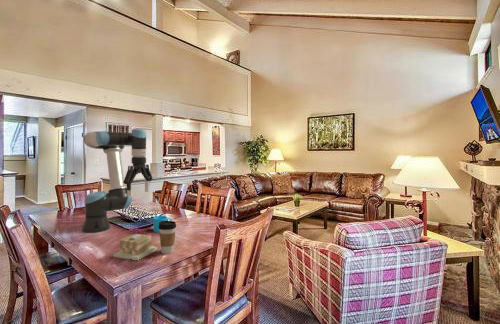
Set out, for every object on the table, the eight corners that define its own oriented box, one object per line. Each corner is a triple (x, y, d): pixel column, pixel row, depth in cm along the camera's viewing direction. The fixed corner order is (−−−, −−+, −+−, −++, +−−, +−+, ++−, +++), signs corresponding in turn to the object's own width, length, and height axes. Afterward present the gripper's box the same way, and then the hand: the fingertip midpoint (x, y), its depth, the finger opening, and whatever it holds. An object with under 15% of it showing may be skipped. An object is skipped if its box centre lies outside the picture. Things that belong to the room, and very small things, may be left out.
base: (113, 256, 122) (113, 239, 122) (134, 246, 136) (134, 230, 135) (137, 260, 118) (137, 242, 118) (157, 249, 132) (157, 233, 131)
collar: (151, 247, 130) (151, 235, 130) (137, 255, 121) (137, 242, 120) (134, 245, 133) (134, 233, 133) (120, 252, 124) (119, 240, 123)
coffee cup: (161, 248, 133) (160, 219, 132) (177, 248, 134) (177, 219, 133) (156, 255, 125) (156, 224, 124) (174, 254, 125) (174, 224, 125)
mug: (156, 233, 157) (156, 220, 157) (151, 230, 163) (151, 217, 163) (175, 229, 165) (175, 216, 165) (169, 226, 171) (169, 214, 171)
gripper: (127, 157, 132) (127, 198, 134) (158, 156, 156) (158, 190, 158) (115, 157, 135) (116, 197, 136) (148, 155, 158) (148, 189, 160)
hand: (138, 193), depth 147 cm, fingers open, 13 cm apart
